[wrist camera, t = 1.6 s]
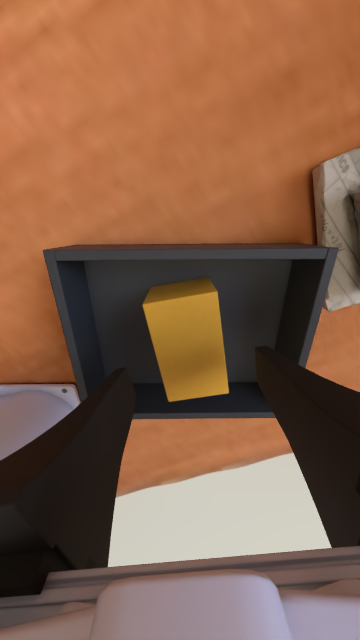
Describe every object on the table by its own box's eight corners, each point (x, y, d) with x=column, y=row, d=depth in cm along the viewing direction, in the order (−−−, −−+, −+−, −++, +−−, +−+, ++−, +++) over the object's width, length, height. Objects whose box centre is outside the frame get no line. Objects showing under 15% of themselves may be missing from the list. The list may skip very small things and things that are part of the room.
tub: (102, 384, 20) (85, 419, 16) (75, 244, 15) (42, 249, 11) (271, 383, 20) (291, 418, 16) (300, 243, 15) (339, 247, 11)
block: (170, 368, 19) (168, 402, 15) (150, 286, 16) (141, 304, 12) (219, 361, 18) (229, 393, 15) (208, 276, 15) (217, 291, 12)
